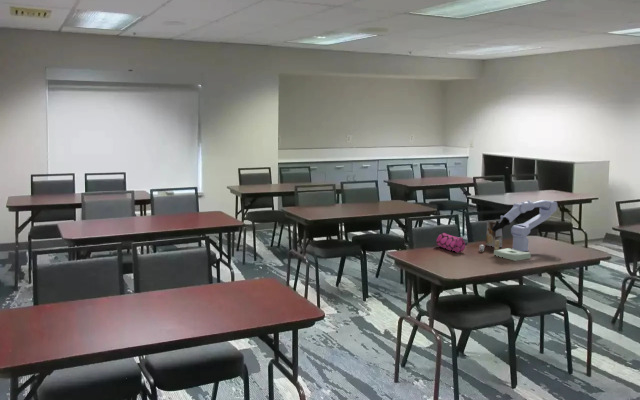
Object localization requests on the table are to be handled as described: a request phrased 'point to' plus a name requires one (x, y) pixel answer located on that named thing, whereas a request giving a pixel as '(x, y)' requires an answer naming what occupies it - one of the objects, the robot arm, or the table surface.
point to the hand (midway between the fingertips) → (495, 229)
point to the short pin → (481, 247)
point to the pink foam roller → (451, 242)
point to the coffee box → (493, 234)
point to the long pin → (496, 245)
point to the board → (512, 254)
